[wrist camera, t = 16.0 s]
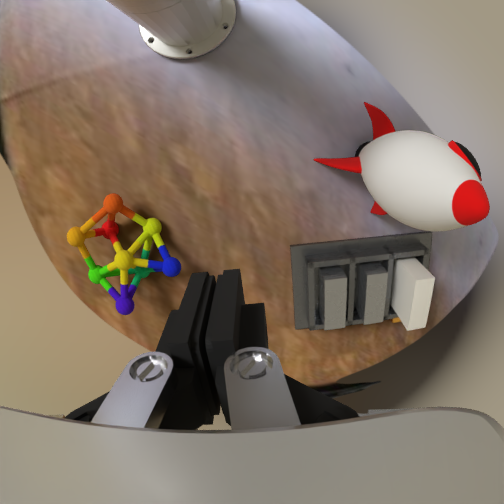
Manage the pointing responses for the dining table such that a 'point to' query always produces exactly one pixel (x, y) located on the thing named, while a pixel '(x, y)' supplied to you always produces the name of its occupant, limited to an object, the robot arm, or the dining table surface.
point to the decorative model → (123, 252)
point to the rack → (350, 279)
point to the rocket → (418, 177)
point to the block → (411, 292)
